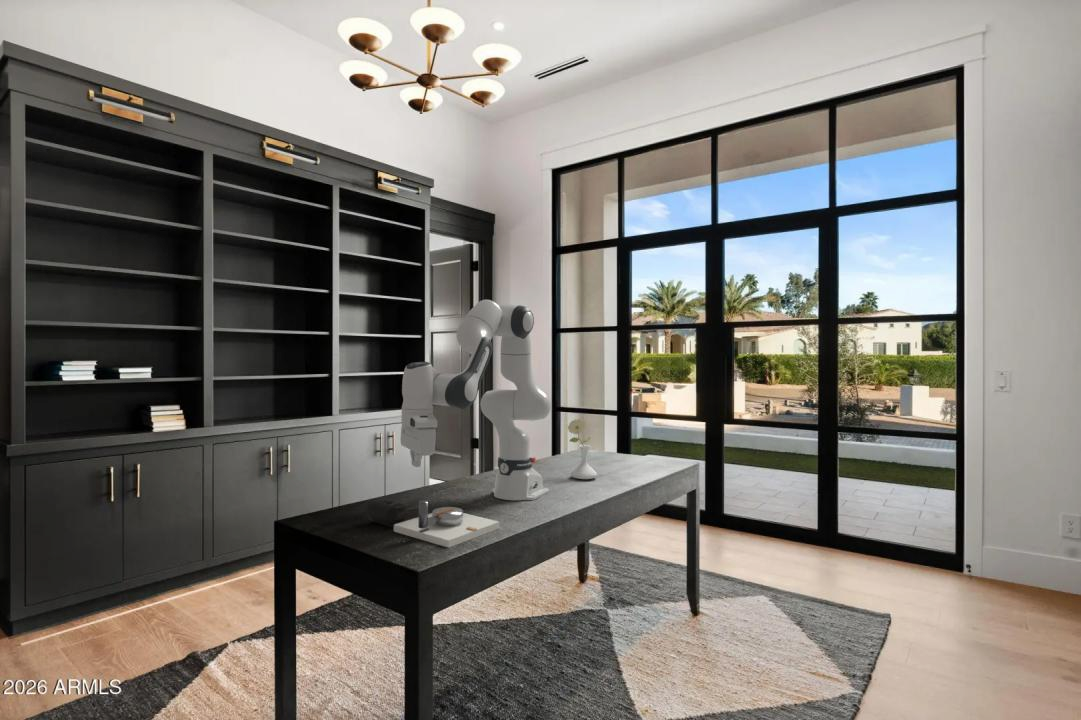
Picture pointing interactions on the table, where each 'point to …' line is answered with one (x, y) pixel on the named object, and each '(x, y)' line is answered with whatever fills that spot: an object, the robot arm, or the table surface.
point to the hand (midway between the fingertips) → (416, 466)
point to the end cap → (385, 513)
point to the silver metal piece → (439, 516)
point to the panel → (448, 530)
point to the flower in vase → (583, 468)
